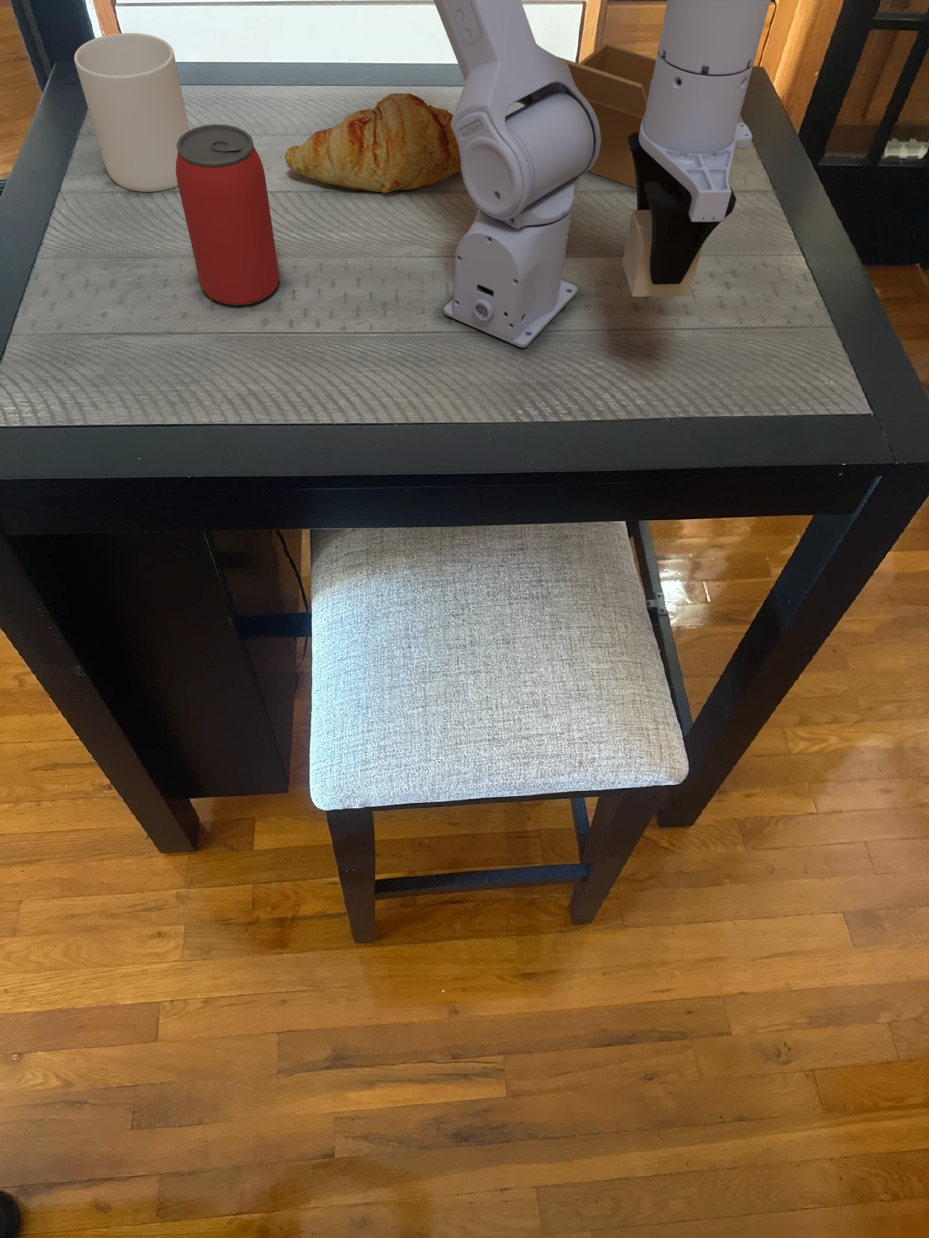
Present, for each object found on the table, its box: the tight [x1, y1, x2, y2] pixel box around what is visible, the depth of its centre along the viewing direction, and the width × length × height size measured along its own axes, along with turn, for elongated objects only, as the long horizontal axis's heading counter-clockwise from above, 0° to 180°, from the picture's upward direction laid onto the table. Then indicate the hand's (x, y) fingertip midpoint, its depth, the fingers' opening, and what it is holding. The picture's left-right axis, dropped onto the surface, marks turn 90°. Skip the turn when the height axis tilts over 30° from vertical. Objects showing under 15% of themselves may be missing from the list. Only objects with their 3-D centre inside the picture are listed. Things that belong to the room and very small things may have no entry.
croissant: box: [284, 92, 462, 194], centre depth 84 cm, size 21×10×8 cm, turn 105°
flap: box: [555, 55, 648, 114], centre depth 80 cm, size 6×11×1 cm
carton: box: [578, 42, 656, 190], centre depth 89 cm, size 12×11×6 cm
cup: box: [73, 32, 191, 193], centre depth 82 cm, size 8×12×10 cm
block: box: [621, 209, 704, 298], centre depth 63 cm, size 4×4×4 cm
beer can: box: [176, 123, 280, 306], centre depth 70 cm, size 7×7×12 cm
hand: (659, 262), depth 64 cm, fingers closed on block, 4 cm apart
